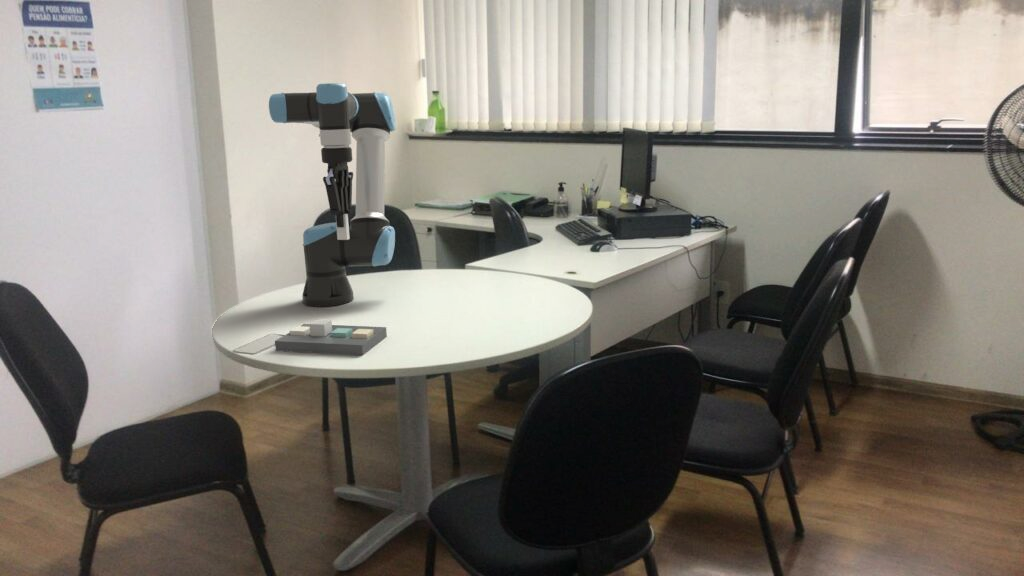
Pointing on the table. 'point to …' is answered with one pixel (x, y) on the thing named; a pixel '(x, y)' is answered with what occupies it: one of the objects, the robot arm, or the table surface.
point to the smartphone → (259, 344)
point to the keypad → (331, 342)
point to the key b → (320, 328)
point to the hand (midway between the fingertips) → (343, 239)
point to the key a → (300, 331)
